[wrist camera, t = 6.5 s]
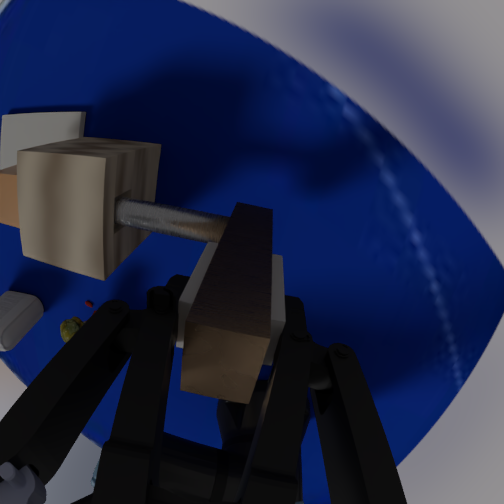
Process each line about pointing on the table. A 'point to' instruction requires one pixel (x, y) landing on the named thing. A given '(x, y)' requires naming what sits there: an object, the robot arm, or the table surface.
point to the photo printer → (17, 317)
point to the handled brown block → (219, 293)
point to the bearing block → (83, 201)
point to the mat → (37, 132)
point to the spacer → (9, 197)
